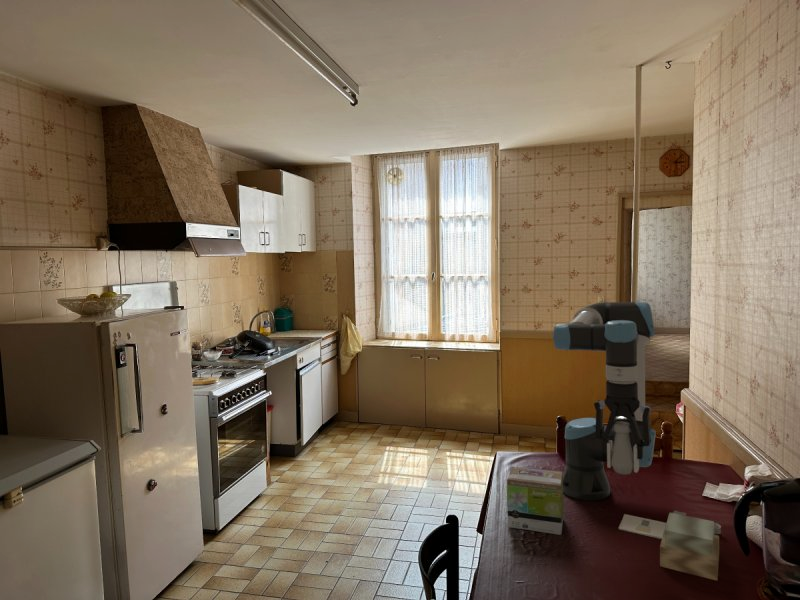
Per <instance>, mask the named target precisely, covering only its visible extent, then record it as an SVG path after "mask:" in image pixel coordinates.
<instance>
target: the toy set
mask: <svg viewBox="0 0 800 600" xmlns="http://www.w3.org/2000/svg"><path fill="white" fill-rule="evenodd" d="M672 513H674V514H679V515H684V516H687V512H682V511H678V510H677V509H676V510H674V511H673V512H672ZM721 528H722V526H721V524H719V523H717V522H715V521H714V535H720V534H721V533H722V530H721Z"/></svg>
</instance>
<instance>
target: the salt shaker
mask: <svg viewBox="0 0 800 600" xmlns="http://www.w3.org/2000/svg"><path fill="white" fill-rule="evenodd" d="M613 429H614V431H615V432H616V433H615V439H614V445H613V451H612V457H611V464H612V466H611V467H612V468H613V471H614V472H615V473H616V474H620V475H624V476H625V475H631V474H632V471H634V456H633V452H632V448H631V443H630V438H629V433H630V432H631V427H630V424H629V423H627V422H623V421H618V422H615V423H614V424H613Z"/></svg>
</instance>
